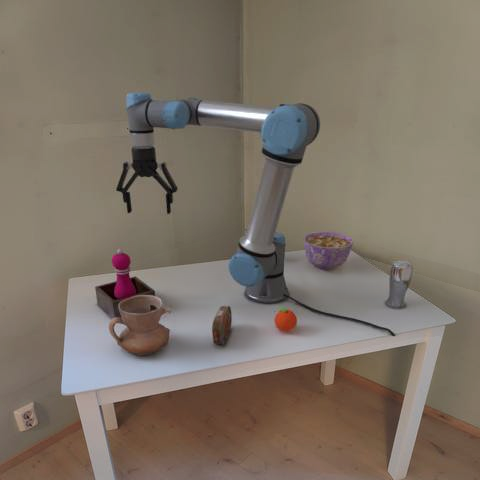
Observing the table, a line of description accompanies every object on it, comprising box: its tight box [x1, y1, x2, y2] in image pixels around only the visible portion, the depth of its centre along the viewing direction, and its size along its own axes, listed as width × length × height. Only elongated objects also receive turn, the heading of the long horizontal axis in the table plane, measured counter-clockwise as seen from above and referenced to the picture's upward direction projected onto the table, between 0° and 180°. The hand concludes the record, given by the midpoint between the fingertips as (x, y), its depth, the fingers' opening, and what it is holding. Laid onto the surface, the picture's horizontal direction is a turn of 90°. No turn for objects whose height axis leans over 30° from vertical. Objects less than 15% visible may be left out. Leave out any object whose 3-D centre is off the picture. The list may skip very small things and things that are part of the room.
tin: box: [211, 305, 233, 346], centre depth 137 cm, size 15×3×8 cm, turn 168°
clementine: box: [274, 308, 298, 333], centre depth 141 cm, size 8×7×7 cm
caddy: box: [94, 276, 158, 320], centre depth 154 cm, size 15×15×7 cm
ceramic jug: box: [108, 295, 172, 356], centre depth 130 cm, size 18×14×14 cm
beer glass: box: [385, 260, 414, 309], centre depth 154 cm, size 7×7×15 cm
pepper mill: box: [111, 248, 136, 300], centre depth 151 cm, size 7×7×20 cm
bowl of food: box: [303, 231, 354, 271], centre depth 186 cm, size 20×20×12 cm
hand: (149, 212), depth 155 cm, fingers open, 13 cm apart
